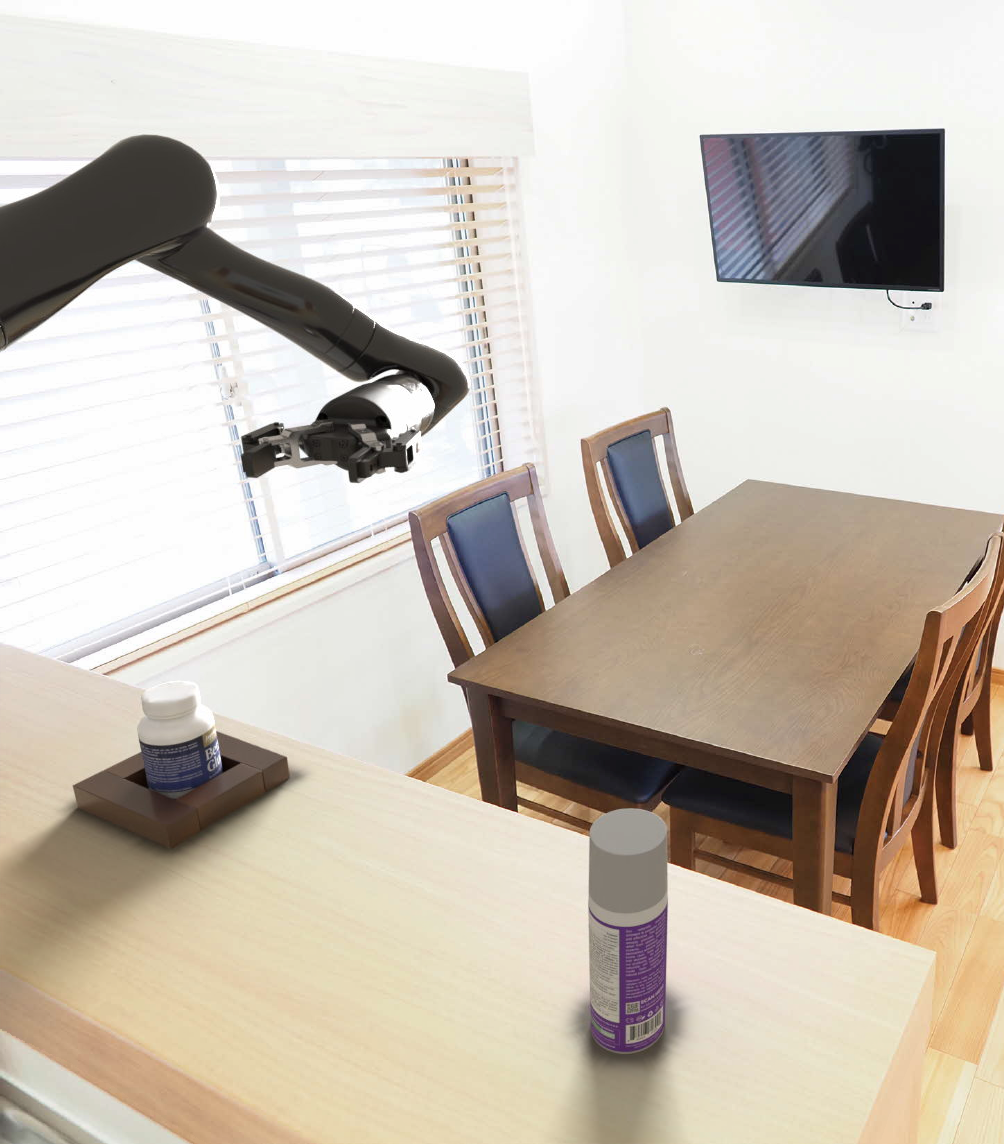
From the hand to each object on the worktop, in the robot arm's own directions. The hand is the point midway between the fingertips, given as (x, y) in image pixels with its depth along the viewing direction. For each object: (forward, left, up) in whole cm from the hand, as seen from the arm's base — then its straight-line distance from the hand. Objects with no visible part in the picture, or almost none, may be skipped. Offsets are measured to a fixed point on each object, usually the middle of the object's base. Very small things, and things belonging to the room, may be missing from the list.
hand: (300, 469), depth 81 cm
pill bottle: (-8, -10, -26) cm, 29 cm away
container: (+31, -32, -26) cm, 52 cm away
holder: (-8, -10, -26) cm, 29 cm away
